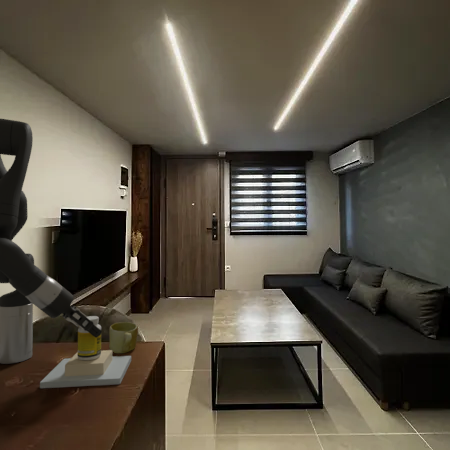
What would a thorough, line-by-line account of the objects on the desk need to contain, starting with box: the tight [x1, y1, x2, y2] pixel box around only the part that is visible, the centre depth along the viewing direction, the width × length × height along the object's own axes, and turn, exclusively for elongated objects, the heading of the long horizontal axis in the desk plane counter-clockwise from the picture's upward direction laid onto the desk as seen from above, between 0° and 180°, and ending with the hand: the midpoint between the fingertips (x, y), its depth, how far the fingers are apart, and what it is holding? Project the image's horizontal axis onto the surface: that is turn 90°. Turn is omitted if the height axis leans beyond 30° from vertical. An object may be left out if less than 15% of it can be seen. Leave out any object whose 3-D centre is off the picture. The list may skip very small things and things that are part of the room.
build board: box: [39, 349, 132, 389], centre depth 92 cm, size 20×16×4 cm
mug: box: [108, 321, 139, 354], centre depth 110 cm, size 12×10×10 cm
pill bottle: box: [77, 315, 102, 361], centre depth 92 cm, size 6×6×11 cm
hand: (93, 331), depth 93 cm, fingers open, 8 cm apart
